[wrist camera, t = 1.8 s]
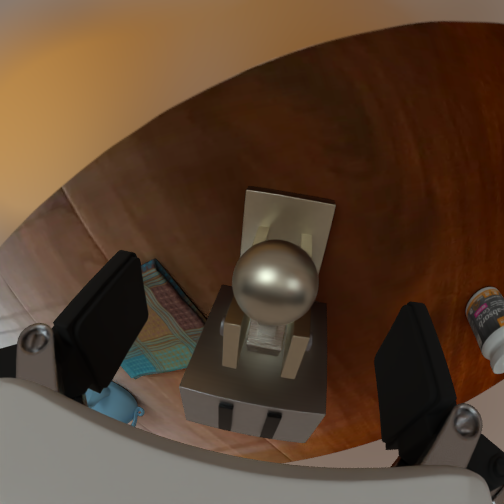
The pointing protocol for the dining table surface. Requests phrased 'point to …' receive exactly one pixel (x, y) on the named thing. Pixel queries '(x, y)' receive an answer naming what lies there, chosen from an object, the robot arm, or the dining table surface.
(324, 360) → the toaster
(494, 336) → the pill bottle
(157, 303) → the dish towel
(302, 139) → the dining table surface
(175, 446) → the robot arm
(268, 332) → the lever
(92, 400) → the teapot
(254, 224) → the bracket
